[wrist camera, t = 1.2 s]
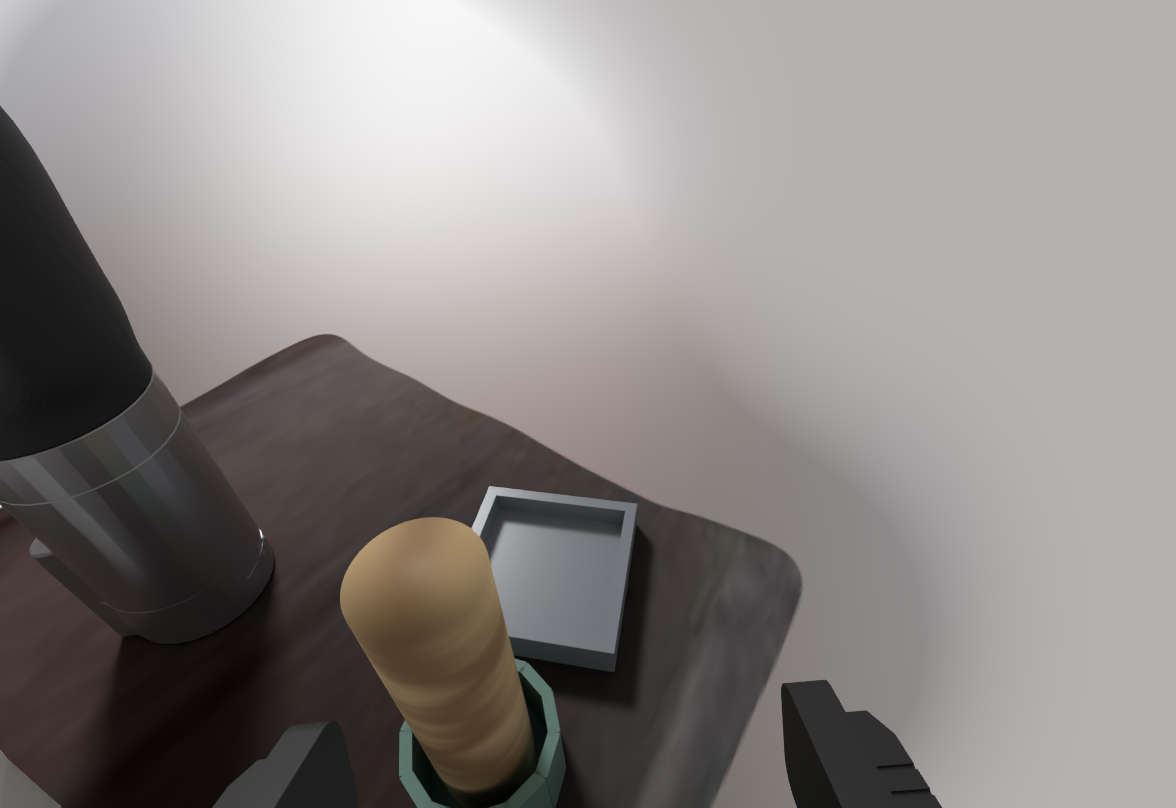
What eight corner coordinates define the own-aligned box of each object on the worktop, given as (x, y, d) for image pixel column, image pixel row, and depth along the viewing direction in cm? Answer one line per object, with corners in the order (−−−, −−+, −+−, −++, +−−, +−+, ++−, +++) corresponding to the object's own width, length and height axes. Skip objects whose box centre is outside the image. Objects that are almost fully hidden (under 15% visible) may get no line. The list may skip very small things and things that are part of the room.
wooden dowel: (448, 831, 29) (332, 663, 17) (444, 728, 32) (346, 533, 21) (545, 802, 29) (497, 623, 18) (530, 704, 33) (481, 505, 22)
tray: (614, 672, 35) (614, 653, 33) (439, 642, 37) (431, 623, 35) (636, 524, 44) (637, 503, 42) (493, 506, 46) (489, 486, 44)
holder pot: (423, 876, 28) (398, 850, 24) (421, 713, 34) (400, 675, 30) (578, 828, 29) (572, 797, 26) (549, 679, 35) (542, 639, 32)
